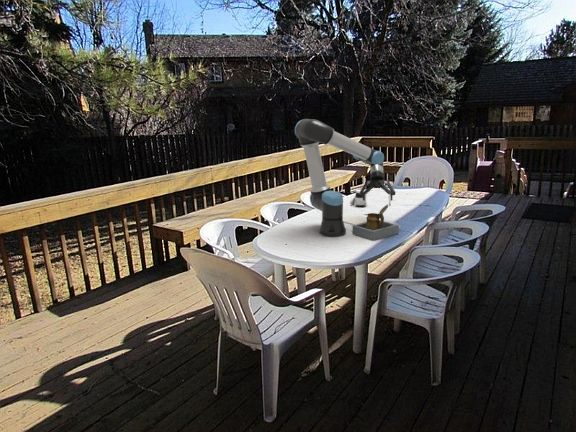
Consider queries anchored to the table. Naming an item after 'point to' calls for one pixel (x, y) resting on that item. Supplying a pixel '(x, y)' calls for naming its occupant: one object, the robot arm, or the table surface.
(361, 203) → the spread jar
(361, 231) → the hollow square frame
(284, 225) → the table surface
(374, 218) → the wooden mug
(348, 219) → the cream board
